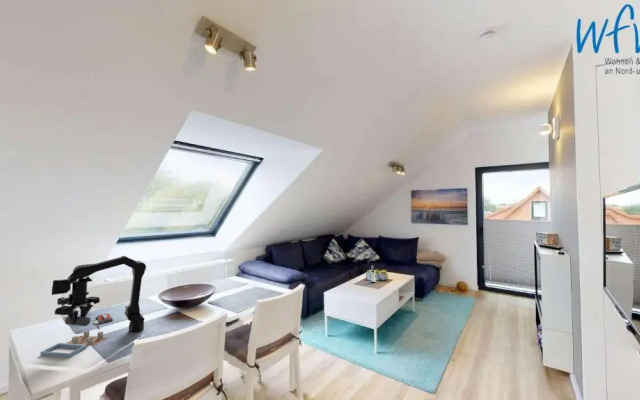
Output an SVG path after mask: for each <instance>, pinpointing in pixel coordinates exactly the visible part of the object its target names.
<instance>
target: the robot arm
mask: <svg viewBox="0 0 640 400" xmlns="http://www.w3.org/2000/svg"><path fill="white" fill-rule="evenodd" d="M122 265H124V266H126V267H128V268H130V269H131V272H132V284H131V285H132V286H131V291H130V292H131V293H130V298H129V299H130V300H129V304H128V305H125V311H124V315H125V317H126V318H127V320H128V321H129V325H128V332H130V333H132V334H135V333H140V332H142V331H144V330H145V329H144V327H145V317H144V316H143V315H142V314H141V310H140V294H141V287H142V281H143V280H142V279H143V277H144V274H145V272H146V269H147V265H146V264H145V263H144V262H143V261H141V260H135V259H133V258H130V257H128V256H126V255H121V256H119V257H116V258H112V259H108V260H104V261H100V262H97V263H96V262H95V263H87V264H80V265H76V266H75V267H74V268H73V270H72V273H71V274H70V275H69V276H68V277H67V278H66V279H54V280H52V287H51V296H53V295H54V296H55V295H62V294H68V293H69V292H70V291H71V293H69V294H68V297H65V296H62V297H59V298H57V302H56V304H57V306H60V305H61V306H60V307H56V308H55V309H54V315H58V316H67V317H68V316H69V318H70V320H71V322H72V324H75V323H76V319H77V316H78V315H80V316H79V317H87V315H88V313H90V310H91V309H92V307H94V305H96V304H99V303H101V299H100V297H99V296H92V295H91V296H89V294H90V292H88V282H89V283H90V282H93V279H92V278H91V277H90V276H91V275H94V273H97V272H100V271H104V270H107V269H111V268H114V267H118V266H122ZM71 285H72V286H71ZM92 303H93V304H94V305H93V304H92ZM78 308H79V310H80V311H79V310H77V309H78ZM79 313H80V314H79Z"/></svg>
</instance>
